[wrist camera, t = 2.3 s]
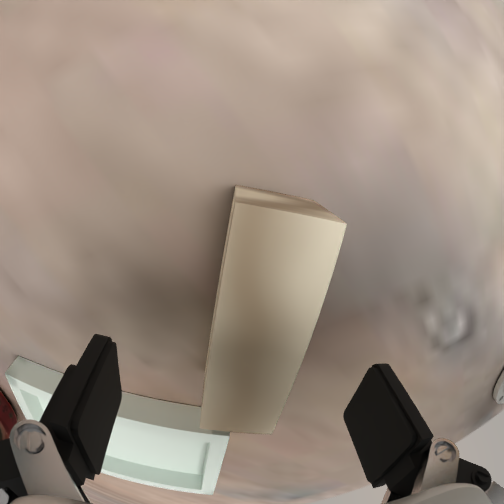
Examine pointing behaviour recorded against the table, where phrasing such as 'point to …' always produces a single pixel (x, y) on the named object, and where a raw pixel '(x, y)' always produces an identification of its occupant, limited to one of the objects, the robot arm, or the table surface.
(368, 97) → the table surface
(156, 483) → the tray
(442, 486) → the robot arm
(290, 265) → the birch block
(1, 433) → the decorative planter
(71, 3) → the table surface
